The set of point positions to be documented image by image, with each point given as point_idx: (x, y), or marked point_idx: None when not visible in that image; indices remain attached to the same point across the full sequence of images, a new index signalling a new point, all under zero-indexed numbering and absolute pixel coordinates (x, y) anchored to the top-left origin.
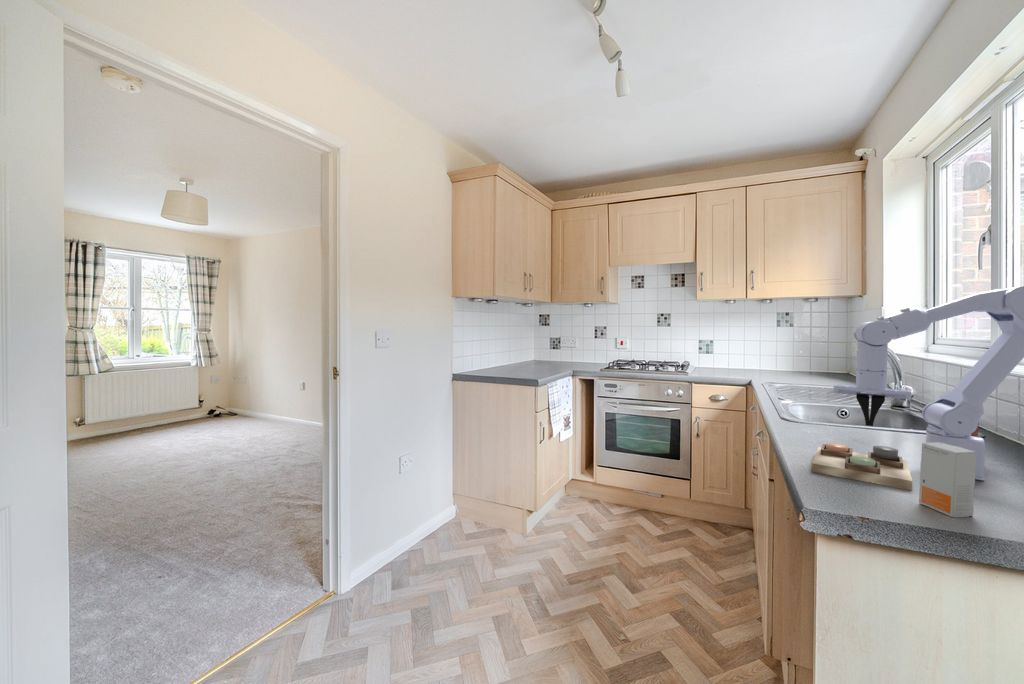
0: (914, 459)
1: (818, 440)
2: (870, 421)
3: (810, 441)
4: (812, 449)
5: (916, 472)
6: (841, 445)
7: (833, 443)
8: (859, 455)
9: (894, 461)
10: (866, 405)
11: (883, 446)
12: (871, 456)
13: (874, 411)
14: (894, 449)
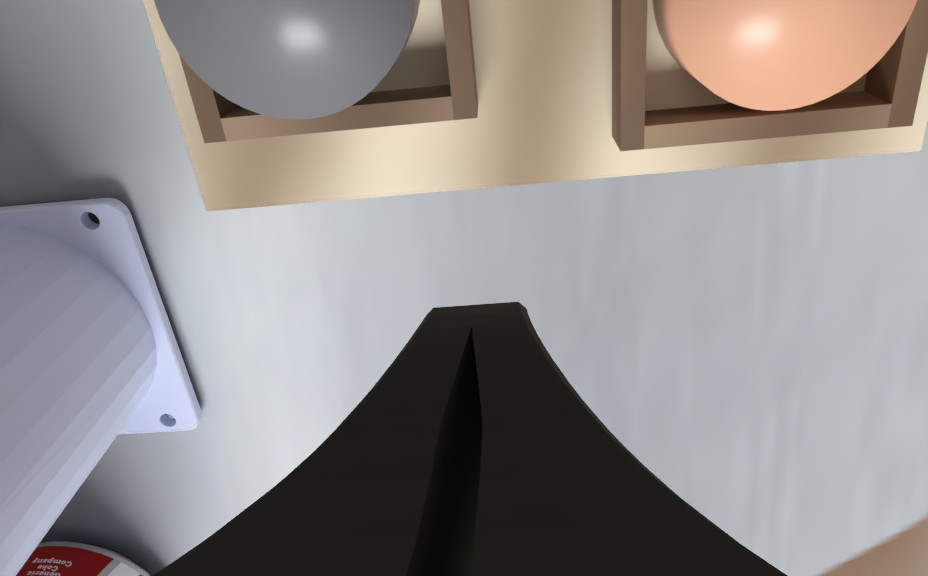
0: (256, 474)
1: (827, 555)
2: (456, 335)
3: (890, 498)
4: (906, 271)
5: (158, 131)
6: (743, 48)
7: (826, 85)
8: (549, 84)
9: None
10: (546, 544)
11: (320, 98)
12: (448, 88)
13: (360, 460)
14: (194, 18)
